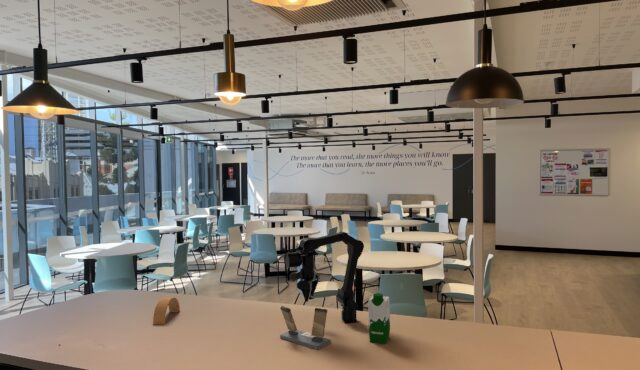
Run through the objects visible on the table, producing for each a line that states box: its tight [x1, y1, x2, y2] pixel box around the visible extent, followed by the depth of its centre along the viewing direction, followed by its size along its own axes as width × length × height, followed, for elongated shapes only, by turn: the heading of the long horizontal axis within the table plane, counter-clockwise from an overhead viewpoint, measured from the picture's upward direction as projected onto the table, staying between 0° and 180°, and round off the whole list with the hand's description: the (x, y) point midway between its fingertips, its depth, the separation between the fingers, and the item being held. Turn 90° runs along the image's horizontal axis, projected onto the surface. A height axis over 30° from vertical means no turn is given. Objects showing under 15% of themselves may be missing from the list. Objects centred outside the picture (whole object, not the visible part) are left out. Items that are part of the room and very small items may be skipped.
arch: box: [152, 296, 181, 325], centre depth 226 cm, size 6×20×10 cm, turn 175°
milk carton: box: [367, 293, 391, 345], centre depth 190 cm, size 9×9×20 cm
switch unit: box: [279, 329, 332, 351], centre depth 191 cm, size 9×21×2 cm, turn 50°
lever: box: [280, 305, 298, 332], centre depth 194 cm, size 2×5×11 cm, turn 38°
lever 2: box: [311, 307, 328, 338], centre depth 188 cm, size 2×5×11 cm, turn 62°
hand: (309, 298), depth 207 cm, fingers open, 9 cm apart
